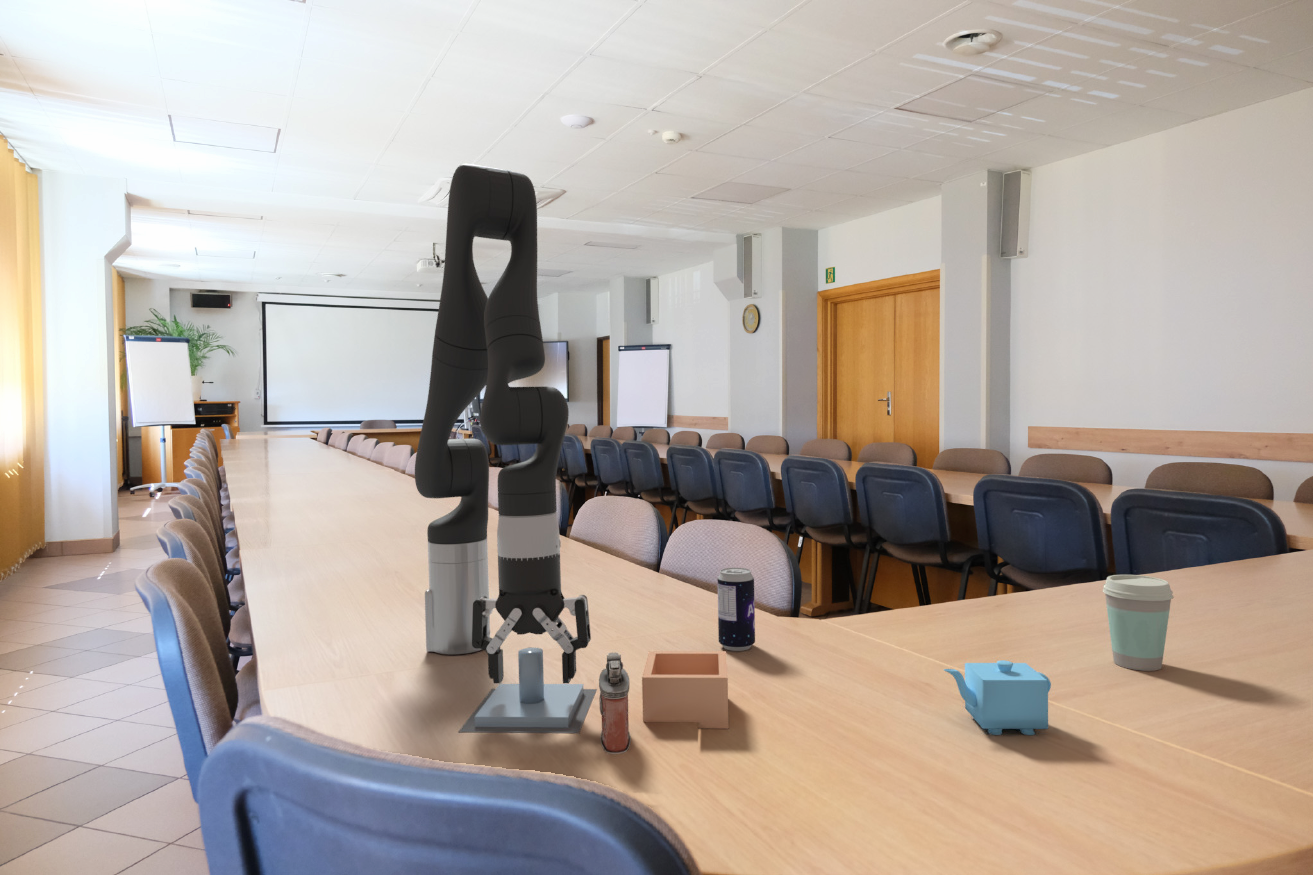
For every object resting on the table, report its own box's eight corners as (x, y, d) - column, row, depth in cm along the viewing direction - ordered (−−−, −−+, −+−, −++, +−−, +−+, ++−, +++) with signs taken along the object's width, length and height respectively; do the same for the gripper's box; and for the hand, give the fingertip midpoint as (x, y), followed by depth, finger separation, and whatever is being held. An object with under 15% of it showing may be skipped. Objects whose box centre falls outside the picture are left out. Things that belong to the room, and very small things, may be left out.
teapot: (952, 736, 89) (951, 670, 88) (936, 715, 95) (935, 653, 95) (1062, 737, 88) (1061, 670, 88) (1039, 716, 94) (1039, 653, 94)
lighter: (600, 731, 92) (598, 646, 92) (628, 729, 92) (627, 645, 92) (601, 761, 84) (598, 669, 84) (632, 760, 84) (630, 667, 84)
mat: (458, 738, 91) (458, 731, 91) (492, 694, 105) (492, 688, 105) (579, 739, 90) (578, 732, 90) (596, 695, 104) (596, 689, 104)
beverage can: (753, 653, 120) (752, 574, 119) (716, 651, 121) (715, 574, 121) (756, 642, 125) (755, 567, 125) (721, 640, 127) (719, 566, 126)
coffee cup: (1163, 657, 114) (1163, 575, 114) (1181, 677, 106) (1181, 588, 106) (1096, 652, 117) (1097, 572, 116) (1109, 671, 109) (1109, 585, 108)
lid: (474, 726, 92) (473, 665, 92) (500, 692, 103) (498, 638, 103) (568, 727, 91) (566, 665, 91) (583, 693, 102) (582, 638, 102)
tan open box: (643, 727, 93) (641, 677, 92) (649, 696, 103) (648, 651, 102) (728, 728, 92) (727, 677, 92) (726, 697, 102) (726, 651, 102)
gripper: (462, 556, 93) (466, 692, 94) (581, 554, 92) (585, 692, 93) (480, 545, 101) (484, 672, 101) (591, 544, 100) (595, 671, 100)
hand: (533, 681), depth 97 cm, fingers open, 8 cm apart
